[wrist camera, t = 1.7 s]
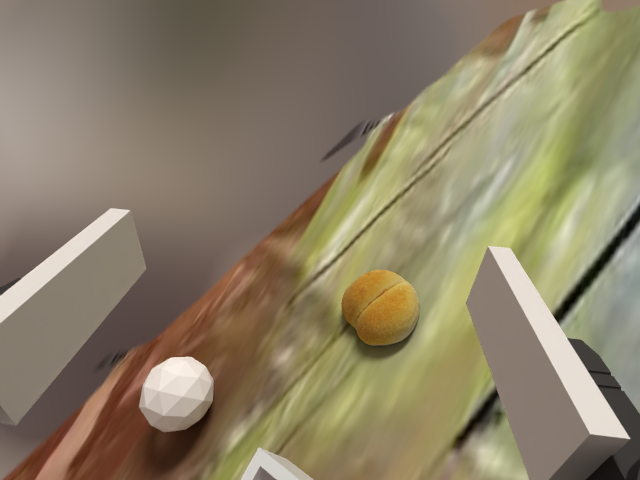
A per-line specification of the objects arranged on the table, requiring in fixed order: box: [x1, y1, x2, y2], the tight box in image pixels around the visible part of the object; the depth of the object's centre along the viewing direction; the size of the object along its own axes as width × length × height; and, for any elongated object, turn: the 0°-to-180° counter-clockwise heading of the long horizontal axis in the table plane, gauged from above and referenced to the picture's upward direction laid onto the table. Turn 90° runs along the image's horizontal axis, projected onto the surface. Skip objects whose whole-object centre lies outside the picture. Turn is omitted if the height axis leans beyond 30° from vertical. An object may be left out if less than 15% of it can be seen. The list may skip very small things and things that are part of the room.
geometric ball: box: [139, 357, 214, 432], centre depth 40 cm, size 8×8×8 cm
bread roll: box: [342, 270, 420, 345], centre depth 39 cm, size 8×9×4 cm
